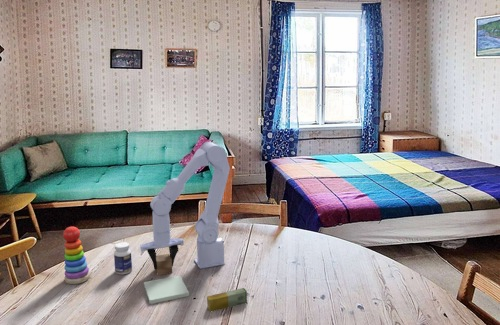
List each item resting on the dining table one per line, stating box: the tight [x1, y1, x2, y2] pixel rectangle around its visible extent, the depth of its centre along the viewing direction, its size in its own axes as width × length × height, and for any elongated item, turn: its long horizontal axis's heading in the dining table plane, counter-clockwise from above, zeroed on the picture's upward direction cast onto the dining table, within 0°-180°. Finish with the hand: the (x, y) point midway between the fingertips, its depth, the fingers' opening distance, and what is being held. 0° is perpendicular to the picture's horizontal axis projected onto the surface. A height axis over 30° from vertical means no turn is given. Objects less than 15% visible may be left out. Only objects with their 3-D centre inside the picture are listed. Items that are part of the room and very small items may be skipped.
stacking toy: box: [62, 226, 91, 285], centre depth 137 cm, size 8×8×19 cm
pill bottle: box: [113, 241, 133, 275], centre depth 144 cm, size 6×6×10 cm
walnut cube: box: [155, 253, 173, 276], centre depth 144 cm, size 5×5×5 cm
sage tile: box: [143, 275, 190, 305], centre depth 131 cm, size 12×12×1 cm
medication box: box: [206, 287, 248, 313], centre depth 123 cm, size 12×3×4 cm, turn 113°
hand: (163, 266), depth 145 cm, fingers closed on walnut cube, 5 cm apart
